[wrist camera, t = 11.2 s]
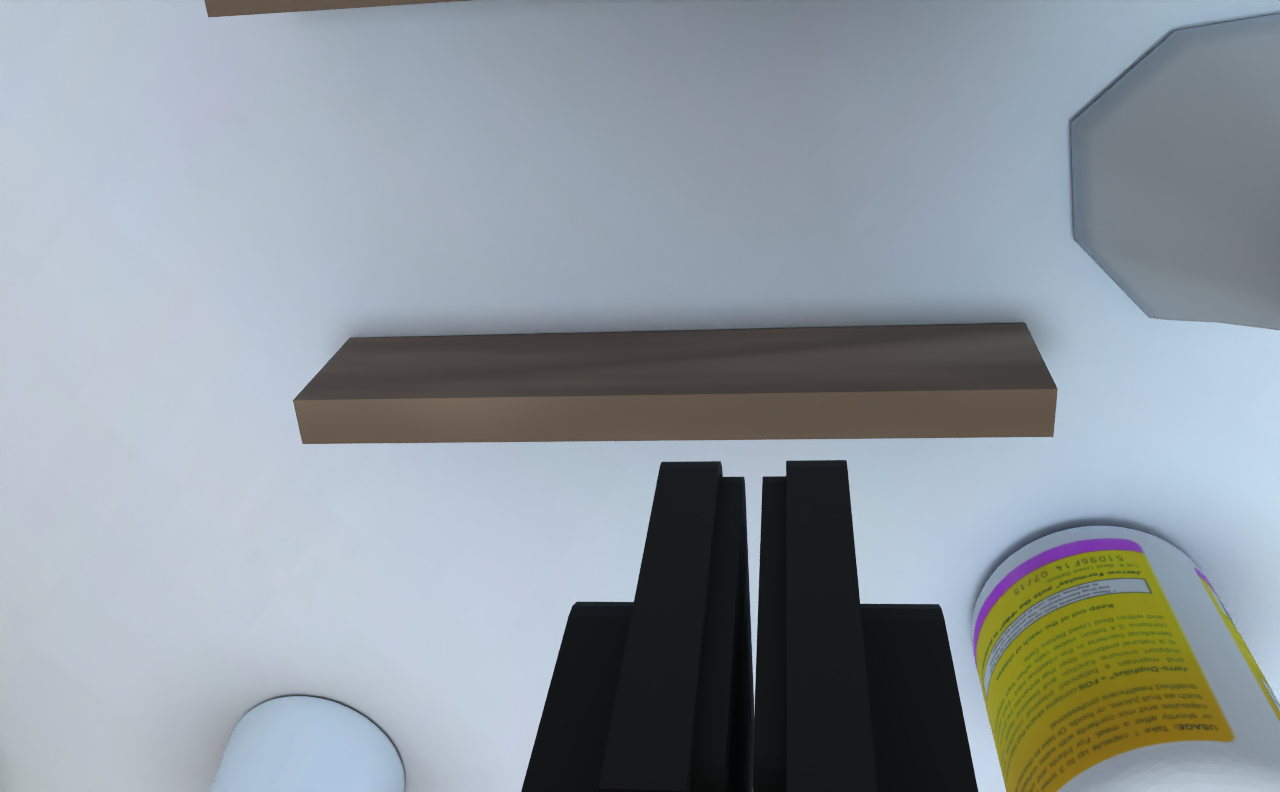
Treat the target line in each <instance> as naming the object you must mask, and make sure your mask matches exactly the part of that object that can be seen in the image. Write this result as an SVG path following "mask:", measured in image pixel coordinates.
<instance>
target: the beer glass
mask: <svg viewBox="0 0 1280 792" xmlns="http://www.w3.org/2000/svg"><path fill="white" fill-rule="evenodd" d="M404 785H405V776H404V769H403V765H402V762H401V759H400V757H399V755H398V753H397V751H396V749H395V747H394V746H393V744H392V743H391V741H390V740H389V739H388V738H387V736H386V735H385V734H384V733H383V732H382V731H381V730H380V729H379V728H378V727H377V726H376V725H375V724H374V723H372V722H371V721H370V720H368V719H367V718H366V717H364V716H363V715H361V714H360V713H358V712H356V711H354V710H352V709H350V708H348V707H346V706H344V705H342V704H339V703H336V702H333V701H330V700H326V699H322V698H317V697H309V696H287V697H280V698H276V699H272V700H269V701H266V702H264V703H262V704H259V705H258V706H256V707H254V708H253V709H251V710H250V711H249V712H248V713H247V714H246V715H245V716H243V717H242V719H241V720H240V721H239V722H238V724H237V725H236V727H235V728H234V730H233V732H232V734H231V736H230V738H229V741H228V743H227V746H226V748H225V751H224V754H223V756H222V759H221V762H220V765H219V768H218V771H217V773H216V776H215V779H214V781H213V784H212V786H211V788H210V790H209V792H404Z"/></svg>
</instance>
